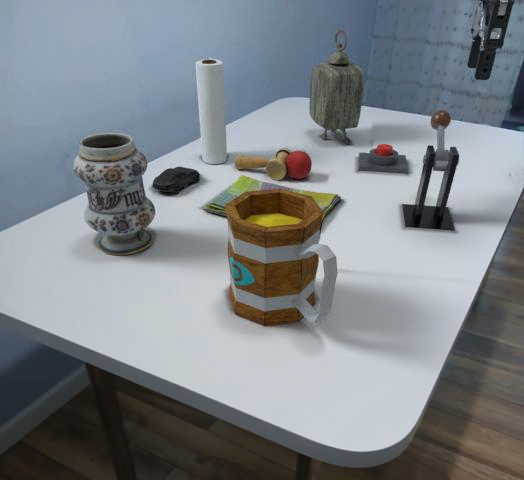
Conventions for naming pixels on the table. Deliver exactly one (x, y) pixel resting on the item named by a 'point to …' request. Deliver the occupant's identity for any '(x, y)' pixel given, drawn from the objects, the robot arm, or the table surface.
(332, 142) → the table surface
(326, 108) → the tabletop clock
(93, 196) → the apothecary jar
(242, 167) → the kendama
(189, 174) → the toy car
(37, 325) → the table surface
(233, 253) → the mug
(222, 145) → the paper towel roll
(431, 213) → the crank bracket
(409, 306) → the table surface
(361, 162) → the button box
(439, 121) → the crank
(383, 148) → the button
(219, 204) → the dish towel
